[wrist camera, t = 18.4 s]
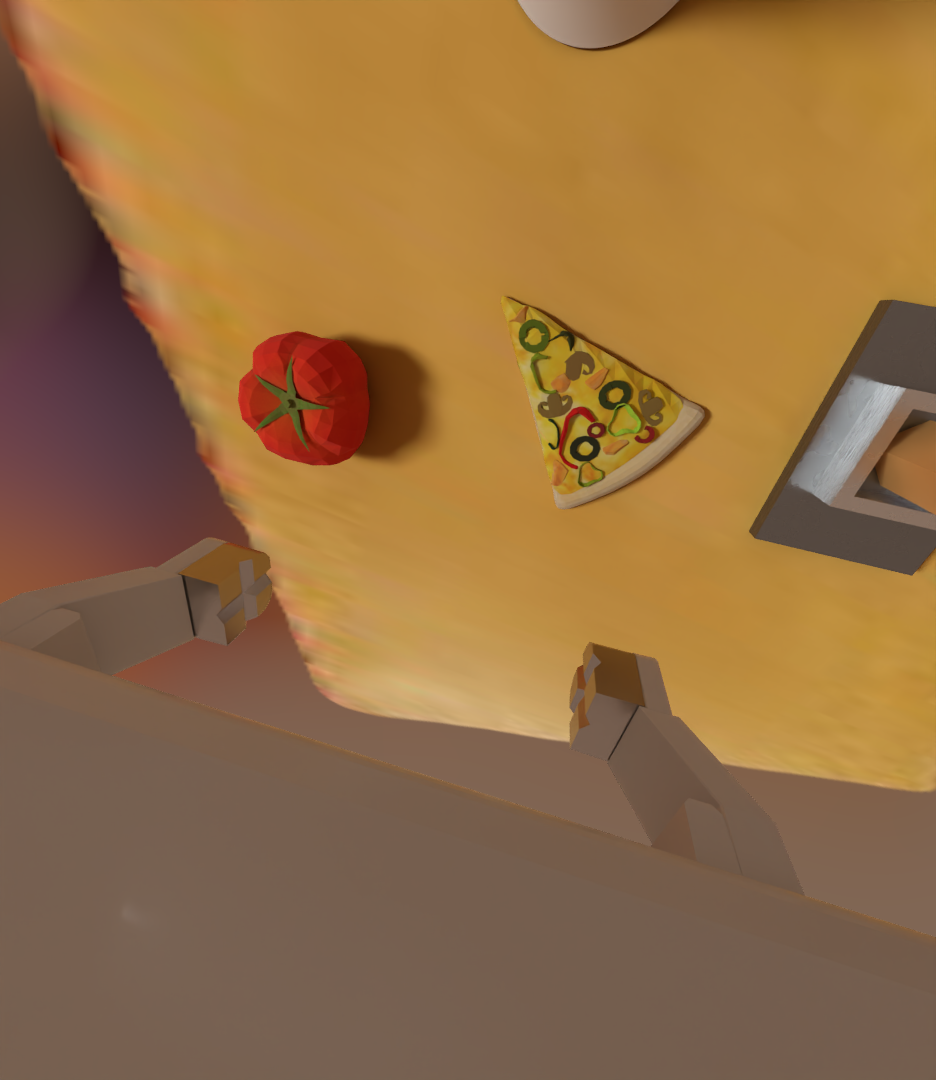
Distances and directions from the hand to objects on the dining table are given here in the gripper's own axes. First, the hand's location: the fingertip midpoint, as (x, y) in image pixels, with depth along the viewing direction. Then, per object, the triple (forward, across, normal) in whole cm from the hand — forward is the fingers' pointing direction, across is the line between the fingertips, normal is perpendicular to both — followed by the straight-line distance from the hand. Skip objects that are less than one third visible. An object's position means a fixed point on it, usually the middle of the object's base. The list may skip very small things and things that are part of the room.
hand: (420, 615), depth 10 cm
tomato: (+34, +20, +4) cm, 40 cm away
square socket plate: (+34, -31, -2) cm, 46 cm away
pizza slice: (+35, -4, -1) cm, 35 cm away
